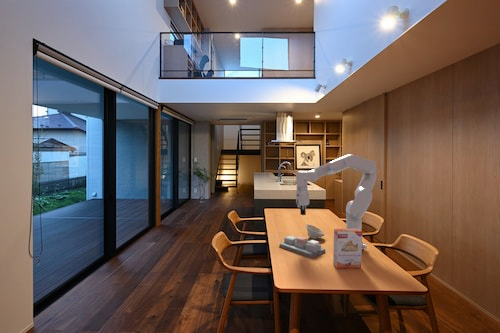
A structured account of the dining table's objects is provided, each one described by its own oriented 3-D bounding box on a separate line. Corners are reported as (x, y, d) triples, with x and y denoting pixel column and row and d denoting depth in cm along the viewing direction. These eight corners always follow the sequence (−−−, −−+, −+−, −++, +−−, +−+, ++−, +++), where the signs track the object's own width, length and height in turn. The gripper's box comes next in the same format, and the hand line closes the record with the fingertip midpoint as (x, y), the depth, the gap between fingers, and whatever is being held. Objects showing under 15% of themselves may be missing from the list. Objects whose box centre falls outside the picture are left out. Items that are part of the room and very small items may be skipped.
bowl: (325, 242, 182) (325, 228, 182) (305, 241, 185) (305, 227, 185) (323, 236, 197) (323, 223, 197) (305, 234, 200) (305, 222, 199)
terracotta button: (307, 242, 169) (307, 238, 169) (302, 244, 166) (302, 239, 166) (301, 240, 173) (301, 236, 173) (296, 242, 170) (296, 238, 169)
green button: (296, 241, 176) (296, 237, 176) (291, 243, 173) (291, 239, 172) (290, 240, 180) (290, 235, 180) (286, 241, 176) (286, 237, 176)
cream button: (318, 246, 162) (318, 241, 162) (314, 248, 159) (314, 243, 159) (312, 244, 166) (312, 239, 166) (307, 246, 163) (307, 241, 163)
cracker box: (337, 269, 140) (337, 231, 139) (332, 264, 146) (333, 228, 145) (361, 268, 141) (362, 231, 140) (356, 263, 147) (357, 227, 146)
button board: (325, 252, 165) (325, 243, 164) (311, 258, 155) (311, 249, 155) (293, 241, 184) (293, 234, 184) (279, 246, 174) (279, 238, 174)
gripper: (299, 190, 171) (301, 217, 171) (312, 187, 181) (313, 213, 181) (291, 189, 176) (292, 216, 177) (303, 187, 186) (304, 212, 187)
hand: (303, 214), depth 179 cm, fingers closed
